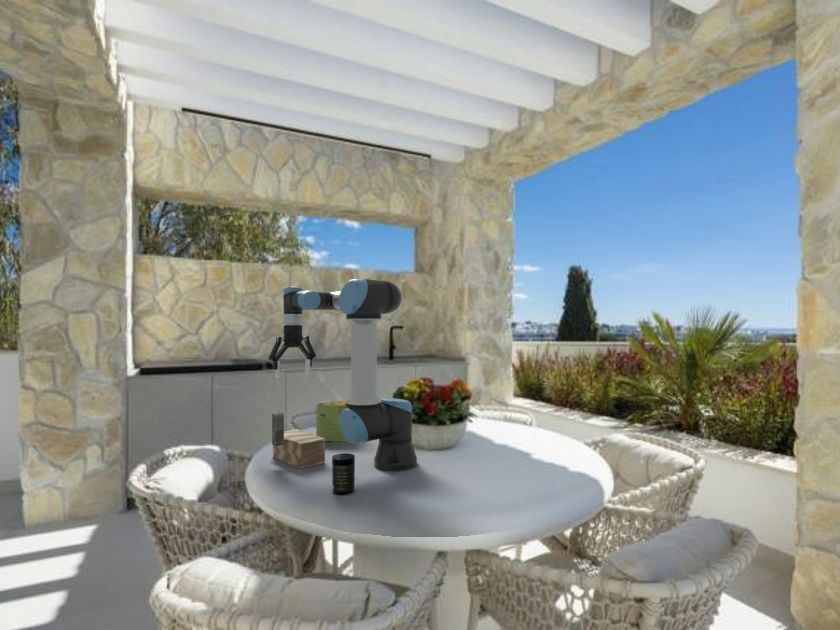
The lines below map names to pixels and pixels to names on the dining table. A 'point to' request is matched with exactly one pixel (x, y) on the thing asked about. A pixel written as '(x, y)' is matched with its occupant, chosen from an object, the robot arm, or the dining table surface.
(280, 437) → the wooden stand with strip
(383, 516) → the dining table surface
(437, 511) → the dining table surface
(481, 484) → the dining table surface
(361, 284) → the robot arm
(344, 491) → the supplement container
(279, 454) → the wooden box
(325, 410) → the protein box
